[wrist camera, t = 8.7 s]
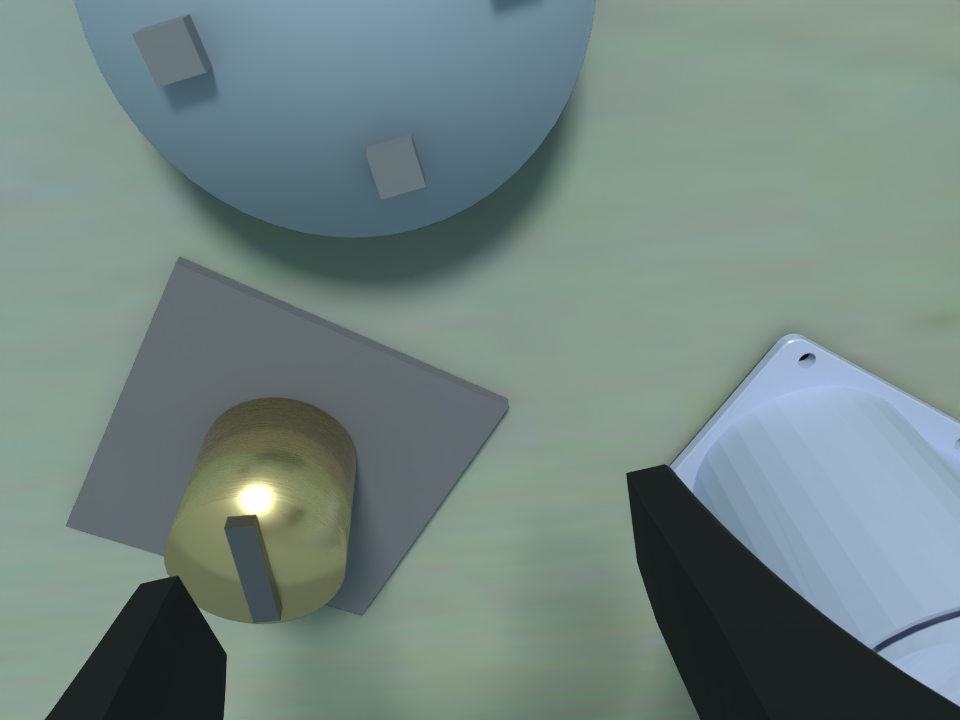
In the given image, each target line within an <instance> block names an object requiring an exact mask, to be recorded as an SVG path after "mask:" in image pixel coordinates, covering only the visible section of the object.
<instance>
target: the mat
mask: <svg viewBox="0 0 960 720" xmlns="http://www.w3.org/2000/svg"><path fill="white" fill-rule="evenodd" d="M273 397H277V398H288V399H294V400H298V401H302V402H305V403H308V404H311V405H313V406H316V407H318V408H319V409H321V410H323V411H325V412H327V413H328V414H329V415H331V416H332V417H334V418H335V419H336V420H337V421H338V422H339V423H340V424H341V425H342V426H343V427H344V429H345V430H346V431H347V433H348V434H349V436H350V437H351V440H352V442H353V444H354V447H355V451H356V458H357V463H356V474H355V483H354V493H353V503H352V512H351V522H350V532H349V541H348V551H347V561H346V570H345V576H344V580H343V582H342V584H341V587H340V589H339V590H338V591H337V593H336V594H335V596H334V597H333V598H332V599H331V600H330V601H329V602H328V603H326V604H325V605H328V606H331V607H335V608H338V609H341V610H345V611H348V612H351V613H354V614H358V615H361V616H362V614H363V613H364V612H365V610H366V609H367V607H368V606H369V604H370V603H371V602H372V600H373V599H374V597H375V596H376V595H377V593H378V592H379V590H380V589H381V587H382V586H383V585H384V583H385V582H386V580H387V579H388V578H389V576H390V575H391V573H392V572H393V570H394V569H395V568H396V566H397V565H398V563H399V562H400V561H401V559H402V558H403V556H404V555H405V553H406V552H407V551H408V549H409V548H410V546H411V545H412V544H413V542H414V541H415V539H416V538H417V536H418V535H419V534H420V532H421V531H422V529H423V528H424V527H425V525H426V524H427V522H428V521H429V519H430V518H431V517H432V515H433V514H434V512H435V511H436V510H437V508H438V507H439V505H440V504H441V502H442V501H443V500H444V498H445V497H446V495H447V494H448V493H449V491H450V490H451V488H452V487H453V486H454V484H455V483H456V481H457V480H458V478H459V477H460V476H461V474H462V473H463V471H464V470H465V469H466V467H467V466H468V464H469V463H470V461H471V460H472V459H473V457H474V456H475V454H476V453H477V452H478V450H479V449H480V447H481V446H482V444H483V443H484V442H485V440H486V439H487V437H488V436H489V435H490V433H491V432H492V430H493V429H494V427H495V426H496V425H497V423H498V422H499V420H500V419H501V418H502V416H503V415H504V413H505V412H506V410H507V409H508V408H509V404H508V399H506V398H504V397H502V396H499V395H497V394H495V393H492V392H490V391H488V390H485V389H483V388H481V387H479V386H476V385H474V384H472V383H469V382H467V381H465V380H462V379H460V378H458V377H455V376H453V375H451V374H449V373H446V372H444V371H442V370H439V369H437V368H435V367H432V366H430V365H428V364H426V363H423V362H421V361H419V360H416V359H414V358H412V357H409V356H407V355H405V354H402V353H400V352H398V351H396V350H393V349H391V348H389V347H386V346H384V345H382V344H379V343H377V342H375V341H372V340H370V339H368V338H366V337H363V336H361V335H359V334H356V333H354V332H352V331H349V330H347V329H345V328H342V327H340V326H338V325H336V324H333V323H331V322H329V321H326V320H324V319H322V318H319V317H317V316H315V315H312V314H310V313H308V312H306V311H303V310H301V309H299V308H296V307H294V306H292V305H289V304H287V303H285V302H282V301H280V300H278V299H276V298H273V297H271V296H269V295H266V294H264V293H262V292H259V291H257V290H255V289H252V288H250V287H248V286H246V285H243V284H241V283H239V282H236V281H234V280H232V279H229V278H227V277H225V276H222V275H220V274H218V273H216V272H213V271H211V270H209V269H206V268H204V267H202V266H199V265H197V264H195V263H193V262H190V261H188V260H186V259H183V258H181V257H179V259H178V260H177V262H176V264H175V267H174V269H173V271H172V274H171V276H170V279H169V281H168V283H167V286H166V288H165V291H164V293H163V295H162V298H161V300H160V302H159V305H158V307H157V310H156V312H155V314H154V317H153V319H152V322H151V324H150V326H149V329H148V331H147V333H146V336H145V338H144V341H143V343H142V345H141V348H140V350H139V352H138V355H137V357H136V360H135V362H134V364H133V367H132V369H131V372H130V374H129V376H128V379H127V381H126V383H125V386H124V388H123V391H122V393H121V395H120V398H119V400H118V403H117V405H116V407H115V410H114V412H113V414H112V417H111V419H110V422H109V424H108V426H107V429H106V431H105V433H104V436H103V438H102V441H101V443H100V445H99V448H98V450H97V453H96V455H95V457H94V460H93V462H92V464H91V467H90V469H89V472H88V474H87V476H86V479H85V481H84V484H83V486H82V488H81V491H80V493H79V495H78V498H77V500H76V503H75V505H74V507H73V510H72V512H71V515H70V517H69V519H68V522H67V524H66V526H67V527H70V528H74V529H77V530H80V531H84V532H87V533H90V534H93V535H97V536H100V537H103V538H107V539H110V540H113V541H117V542H120V543H123V544H126V545H130V546H133V547H136V548H140V549H143V550H146V551H150V552H153V553H156V554H160V555H163V556H164V551H165V545H166V542H167V539H168V536H169V534H170V531H171V528H172V526H173V523H174V520H175V517H176V515H177V512H178V509H179V507H180V504H181V501H182V499H183V496H184V493H185V491H186V488H187V485H188V482H189V480H190V477H191V474H192V472H193V469H194V466H195V464H196V461H197V458H198V456H199V453H200V450H201V447H202V445H203V442H204V439H205V437H206V434H207V432H208V430H209V428H210V427H211V425H212V424H213V423H214V421H215V420H216V419H217V418H218V417H219V416H220V415H221V414H223V413H224V412H226V411H227V410H228V409H230V408H232V407H234V406H236V405H238V404H241V403H243V402H246V401H250V400H254V399H260V398H273Z"/></svg>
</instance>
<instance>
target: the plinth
mask: <svg viewBox="0 0 960 720" xmlns="http://www.w3.org/2000/svg"><path fill="white" fill-rule="evenodd" d="M74 2H75V5H76V8H77V11H78V15H79V18H80V21H81V24H82V27H83V31H84V34H85V37H86V39H87V41H88V44H89V46H90V48H91V51H92V53H93V55H94V57H95V60H96V62H97V64H98V66H99V69H100V71H101V73H102V74H103V76H104V78H105V80H106V81H107V83H108V85H109V87H110V88H111V90H112V92H113V93H114V95H115V97H116V99H117V100H118V102H119V104H120V105H121V106H122V108H123V109H124V110H125V112H126V113H127V114H128V116H129V117H130V118H131V120H132V121H133V122H134V124H135V125H136V127H137V128H138V129H139V131H140V132H141V133H142V134H143V135H144V136H145V137H146V138H147V139H148V141H149V142H150V143H151V144H152V145H153V146H154V147H155V148H156V149H157V150H158V151H159V152H160V153H161V155H162V156H163V157H164V158H165V159H167V160H168V161H169V162H170V163H171V164H172V165H173V166H175V167H176V168H177V169H178V170H179V171H180V172H182V173H183V174H184V175H185V176H186V177H187V178H188V179H190V180H191V181H193V182H194V183H195V184H197V185H198V186H200V187H201V188H203V189H204V190H206V191H207V192H209V193H210V194H211V195H213V196H214V197H216V198H217V199H219V200H221V201H223V202H225V203H227V204H229V205H230V206H232V207H234V208H236V209H238V210H240V211H242V212H244V213H246V214H248V215H251V216H253V217H256V218H258V219H261V220H263V221H266V222H268V223H271V224H273V225H277V226H280V227H284V228H288V229H292V230H295V231H299V232H303V233H309V234H316V235H323V236H330V237H354V238H364V237H374V236H385V235H393V234H397V233H402V232H406V231H411V230H415V229H419V228H422V227H425V226H428V225H431V224H433V223H436V222H439V221H442V220H445V219H447V218H449V217H451V216H453V215H455V214H457V213H459V212H461V211H463V210H465V209H467V208H469V207H471V206H472V205H474V204H475V203H477V202H478V201H480V200H481V199H483V198H484V197H486V196H487V195H489V194H490V193H492V192H493V191H495V190H496V189H497V188H498V187H500V186H501V185H502V184H503V183H504V182H505V181H507V180H508V179H509V178H510V177H511V176H512V175H513V174H515V173H516V172H517V171H518V170H519V169H520V168H521V167H522V165H523V164H524V163H525V162H526V161H527V160H528V159H529V158H530V157H531V155H532V154H533V153H534V152H535V151H536V150H537V149H538V148H539V146H540V145H541V143H542V142H543V140H544V139H545V138H546V136H547V135H548V133H549V132H550V130H551V129H552V128H553V126H554V125H555V123H556V122H557V120H558V118H559V116H560V114H561V112H562V110H563V108H564V107H565V105H566V103H567V101H568V99H569V97H570V95H571V93H572V90H573V88H574V85H575V83H576V80H577V78H578V75H579V72H580V70H581V67H582V65H583V61H584V57H585V53H586V49H587V46H588V42H589V38H590V34H591V30H592V22H593V15H594V7H595V0H74Z"/></svg>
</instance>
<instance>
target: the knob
mask: <svg viewBox="0 0 960 720" xmlns="http://www.w3.org/2000/svg"><path fill="white" fill-rule="evenodd" d="M356 463H357V458H356V451H355V447H354V444H353V442H352V440H351V437H350V436H349V434H348V433H347V431H346V430H345V429H344V427H343V426H342V425H341V424H340V423H339V422H338V421H337V420H336V419H335V418H334V417H332V416H331V415H329V414H328V413H327V412H325V411H323V410H321V409H319V408H318V407H316V406H313V405H311V404H308V403H305V402H302V401H298V400H294V399H288V398H277V397H273V398H260V399H254V400H250V401H246V402H243V403H241V404H238V405H236V406H234V407H232V408H230V409H228V410H227V411H226V412H224V413H223V414H221V415H220V416H219V417H218V418H217V419H216V420H215V421H214V423H213V424H212V425H211V427H210V428H209V430H208V432H207V434H206V437H205V439H204V442H203V445H202V447H201V450H200V453H199V456H198V458H197V461H196V464H195V466H194V469H193V472H192V474H191V477H190V480H189V482H188V485H187V488H186V491H185V493H184V496H183V499H182V501H181V504H180V507H179V509H178V512H177V515H176V517H175V520H174V523H173V526H172V528H171V531H170V534H169V536H168V539H167V542H166V545H165V551H164V561H165V567H166V570H167V573H168V575H169V577H173V576H177V575H178V576H179V577H180V579H181V581H182V582H183V584H184V586H185V587H186V589H187V590H188V592H189V594H190V595H191V597H192V599H193V600H194V602H195V604H196V605H197V606H198V607H199V608H201V609H203V610H205V611H207V612H209V613H211V614H214V615H216V616H219V617H222V618H225V619H229V620H233V621H238V622H244V623H253V624H271V623H280V622H286V621H291V620H295V619H298V618H301V617H304V616H306V615H308V614H311V613H313V612H315V611H316V610H318V609H320V608H321V607H323V606H324V605H325V604H326V603H328V602H329V601H330V600H331V599H332V598H333V597H334V596H335V594H336V593H337V591H338V590H339V589H340V587H341V584H342V582H343V580H344V576H345V570H346V561H347V551H348V541H349V532H350V522H351V512H352V503H353V493H354V483H355V474H356Z"/></svg>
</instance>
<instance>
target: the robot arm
mask: <svg viewBox="0 0 960 720" xmlns="http://www.w3.org/2000/svg"><path fill="white" fill-rule="evenodd" d="M807 353H810V354H809V356H808V357H807V358H806V359H805V360H802V361H799V359H800V357H802V356H803V355H804V354H807ZM957 440H958V441H957ZM626 475H627V483H628V491H629V500H630V508H631V516H632V524H633V532H634V540H635V548H636V556H637V563H638V566H639V569H640V572H641V575H642V578H643V582H644V585H645V588H646V591H647V594H648V597H649V600H650V603H651V606H652V609H653V612H654V615H655V618H656V621H657V623H658V626H659V628H660V630H661V633H662V635H663V637H664V639H665V642H666V644H667V646H668V648H669V651H670V653H671V655H672V657H673V660H674V662H675V664H676V666H677V669H678V671H679V673H680V675H681V677H682V680H683V682H684V684H685V686H686V689H687V691H688V693H689V695H690V697H691V700H692V702H693V704H694V706H695V709H696V711H697V713H698V715H699V717H700V720H960V422H959V421H958V420H956V419H954V418H952V417H950V416H948V415H947V414H945V413H943V412H941V411H939V410H938V409H936V408H934V407H932V406H930V405H928V404H927V403H925V402H923V401H921V400H919V399H917V398H916V397H914V396H912V395H910V394H908V393H906V392H905V391H903V390H901V389H899V388H897V387H895V386H894V385H892V384H890V383H888V382H886V381H884V380H883V379H881V378H879V377H877V376H875V375H873V374H872V373H870V372H868V371H866V370H864V369H862V368H861V367H859V366H857V365H855V364H853V363H851V362H850V361H848V360H846V359H844V358H842V357H840V356H839V355H837V354H835V353H833V352H831V351H829V350H828V349H826V348H824V347H822V346H820V345H818V344H817V343H815V342H813V341H811V340H809V339H807V338H806V337H804V336H802V335H799V334H788V335H786V336H784V337H782V338H781V339H780V340H779V341H777V343H776V344H775V345H774V346H773V347H772V348H771V350H770V351H769V352H768V353H767V354H766V355H765V357H764V358H763V359H762V360H761V361H760V362H759V364H758V365H757V366H756V367H755V368H754V369H753V370H752V372H751V373H750V374H749V375H748V376H747V377H746V379H745V380H744V381H743V382H742V383H741V384H740V386H739V387H738V388H737V389H736V390H735V391H734V393H733V394H732V395H731V396H730V397H729V398H728V400H727V401H726V402H725V403H724V404H723V405H722V407H721V408H720V409H719V410H718V411H717V412H716V413H715V415H714V416H713V417H712V418H711V419H710V420H709V422H708V423H707V424H706V425H705V426H704V427H703V429H702V430H701V431H700V432H699V433H698V434H697V436H696V437H695V438H694V439H693V440H692V441H691V443H690V444H689V445H688V446H687V447H686V448H685V449H684V451H683V452H682V453H681V454H680V455H679V456H678V458H677V459H676V460H675V461H674V462H673V463H672V465H671V466H670V467H668V466H666V465H665V464H664V465H660V466H655V467H651V468H647V469H642V470H638V471H634V472H629V473H626ZM226 661H227V654H226V653H225V651H224V649H223V648H222V646H221V644H220V643H219V641H218V640H217V638H216V636H215V635H214V633H213V631H212V630H211V628H210V626H209V625H208V623H207V622H206V620H205V618H204V617H203V615H202V613H201V612H200V610H199V608H198V607H197V605H196V604H195V602H194V600H193V599H192V597H191V595H190V594H189V592H188V590H187V589H186V587H185V586H184V584H183V582H182V581H181V579H180V577H179V576H178V575H177V576H173V577H168V578H164V579H160V580H155V581H151V582H147V583H142V584H140V586H139V587H138V588H137V590H136V591H135V592H134V594H133V595H132V597H131V598H130V599H129V601H128V602H127V604H126V605H125V606H124V608H123V609H122V611H121V612H120V614H119V615H118V617H117V618H116V619H115V621H114V622H113V624H112V625H111V627H110V628H109V630H108V631H107V633H106V634H105V635H104V637H103V638H102V640H101V641H100V643H99V644H98V646H97V647H96V648H95V650H94V651H93V653H92V654H91V656H90V657H89V659H88V660H87V661H86V663H85V664H84V666H83V667H82V669H81V670H80V671H79V673H78V674H77V676H76V677H75V678H74V680H73V681H72V683H71V684H70V685H69V687H68V688H67V690H66V691H65V692H64V694H63V695H62V697H61V698H60V700H59V701H58V702H57V704H56V705H55V707H54V708H53V709H52V711H51V712H50V713H49V715H48V716H47V717H46V719H45V720H223V717H224V702H225V687H226Z"/></svg>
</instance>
